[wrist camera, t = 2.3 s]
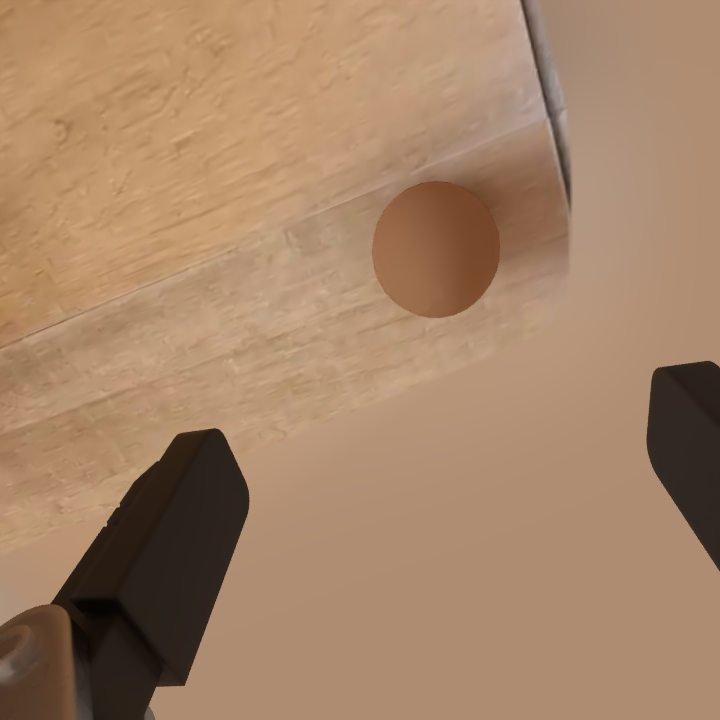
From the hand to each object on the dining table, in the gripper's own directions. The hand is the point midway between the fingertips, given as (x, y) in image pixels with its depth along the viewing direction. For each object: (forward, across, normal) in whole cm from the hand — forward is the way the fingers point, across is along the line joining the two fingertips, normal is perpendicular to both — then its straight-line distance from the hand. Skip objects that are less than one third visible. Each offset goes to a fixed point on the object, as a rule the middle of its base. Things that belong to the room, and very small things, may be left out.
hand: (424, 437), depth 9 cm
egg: (+16, -1, 0) cm, 16 cm away
